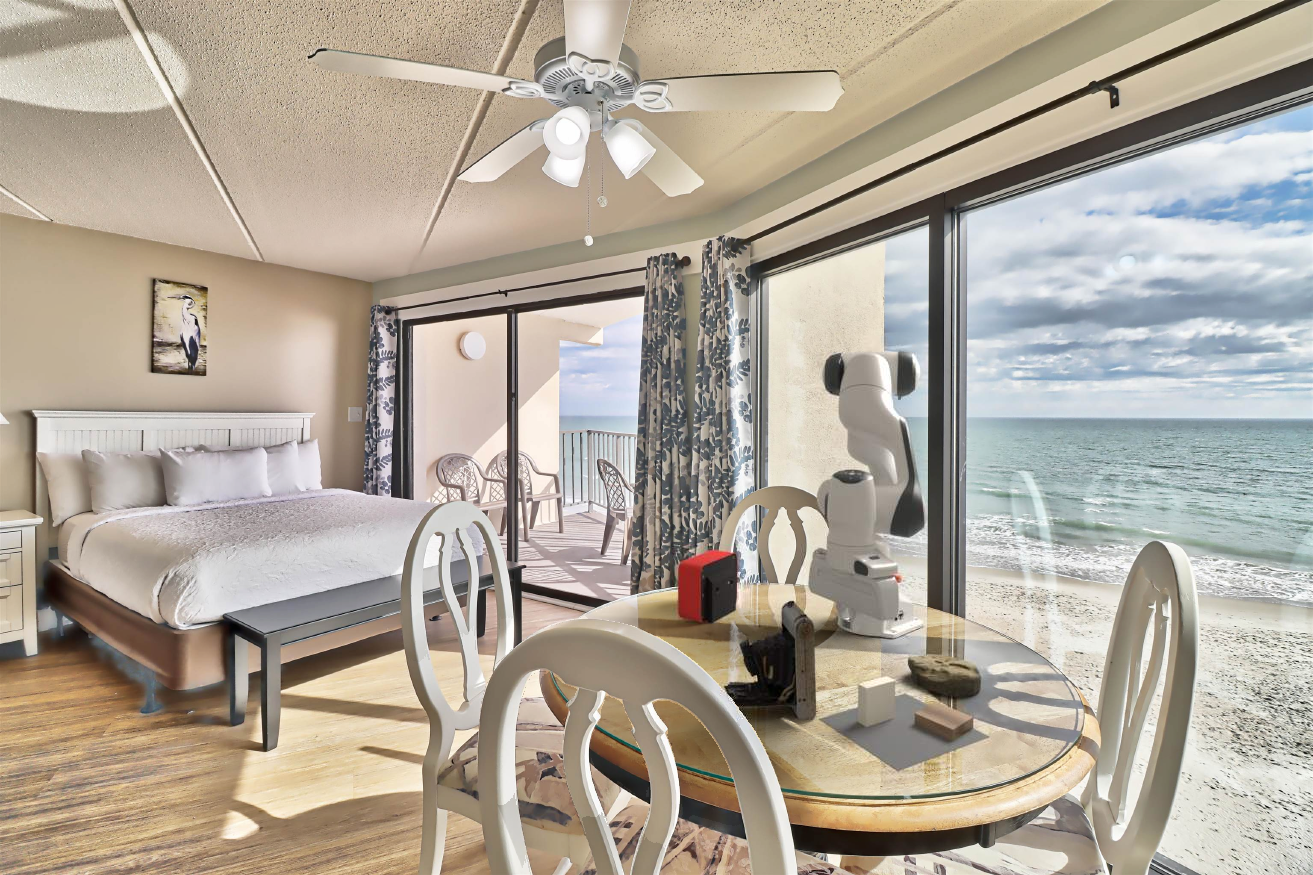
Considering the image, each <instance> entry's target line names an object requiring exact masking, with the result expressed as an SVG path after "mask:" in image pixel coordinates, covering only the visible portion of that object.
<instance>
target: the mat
mask: <svg viewBox="0 0 1313 875" xmlns="http://www.w3.org/2000/svg"><path fill="white" fill-rule="evenodd" d="M929 705H930V704H929ZM929 705H928V704H927V703H926V702H923V701H921V700H919V699H917V698H915V697H913V696H911V695H910V694H908V693H902V694H899V695H895V718H893V719H890V720H887V721H883V722H880V723H877V724H874V725H871V726H868V727H865V726H864V725H862V724H860V723H859V722H858V706H856V707H855V708H851V709H848V710H843V711H841V712H838V713H834V714H831V715H826V716H824V717H821V718H819V720H820V721H821V722H823V723H825V725H828V726H829V727H831V729H833V730H834V731H836V732H838V733H839V734H841V735H842V736H845V738H847V739H849V741H851V742H853V743H855V744H856V745H857V746H859V747H860V748H862V749H864V750H866V751H867V752H868V753H870V754H871V755H873V756H874V757H876V758H877V759H879V760H880V761H882V762H883V763H885V764H886V765H889V767H891V768H892V769H894V770H895V771H897V772H899V771H902V770H904V769H908V768H910V767H912V766H915V765H918V764H922V763H923V762H926V761H929V760H931V759H933V758H937V757H939V756H942V755H944V754H945V755H946V754H948V753H950V752H953V751H956V750H958V749H961V748H964V747H967V746H969V745H972V744H975V743H977V742H980V741H983V740H985V739H988V738H990V736H989V735H987V734H986V733H984V732H982V731H980V730H978V729H976V728H974V727H973V729H971V730H969V731H968V732H966V733H965V734H963V735H962V736H960V737H958V738H957V739H955V740H954V741H952V740H949V739H947V738H945V737H943V736H940V735H938V734H936V733H934V732H931V731H929V730H927V729H925V728H922V727H920V726H918V725H915V724H914V722H915V713H916V712H918V711H920V710H921V709H923V708H925V707H927V706H929Z"/></svg>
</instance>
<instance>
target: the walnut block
mask: <svg viewBox="0 0 1313 875" xmlns="http://www.w3.org/2000/svg"><path fill="white" fill-rule="evenodd" d="M974 718H975V717H974V716H972V715H969V714H967V713H966V712H965V713H964V712H962V711H959V710H957V709H954V708H953V707H950V706H947V705H944V704H941V703H940V702H937V701H935V702H934V701H933V703H931V704H929V706H927V707H925V708H923V709H921V710H920V711H918V712H916V713H915V722H914V724H915V725H918V726H920V727H922V728H925V729H927V730H929V731H931V732H934V733H936V734H938V735H940V736H943V737H945V738H947V739H949V740H952V741H954V740H955V739H957V738H958V737H960V736H962V735H963V734H965V733H966V732H968V731H969V730H971V729H973V728H974V720H975V719H974Z"/></svg>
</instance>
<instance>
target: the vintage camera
mask: <svg viewBox="0 0 1313 875" xmlns="http://www.w3.org/2000/svg"><path fill="white" fill-rule="evenodd" d="M781 607H782V608H781V612H780V613H781V615H780V616H781V620H780V621H781V633H780V632H779V633H776V634H775V635H771V636H766V637H764V638H763V639H756V641H755V642H752V643H750V642H751V641H749V639H746V640H744V641H742V642H739V647H740V652H741V654H742V657H743V659H742V660H743V663H744V666H745V668H746V670H747V672H748V673H749V674H750V677H752V678H755V677H756V679H757V680H754V681H751V682H749V681H748V682H744V681H729V683H727V685H723V688H724V690H725V692H727V693H726V695H727V694H728V695H729V696H730V697H731V698H732V699H733V701H734V702H735V704H736V705H737V706H738V707H739V708H751V707H752V708H757V707H758V708H759V707H760V708H762V707H763V708H767V707H786V706H787V707H788V706H789V707H791V708H792V710H793V712H794V713H795V714H796V716H797V718H798V719H799V720H800V721H807V720H809V721H810V720H814V719H815V717H816V715H817V692H816V691H817V690H816V688H817V685H816V682H817V681H816V656H815V655H816V653H815V652H816V651H815V625H814V623H813V620H811V618H810V617H809V616H808V615H807V614H806V613H805V612H804V611H803V610H802V609H801V608H800V607H799V605H798V604H797V603H795V601H794V600H789V601H788V602H786V603H784V604H783V606H781ZM728 695H727V696H728ZM738 707H737V708H738Z"/></svg>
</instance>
